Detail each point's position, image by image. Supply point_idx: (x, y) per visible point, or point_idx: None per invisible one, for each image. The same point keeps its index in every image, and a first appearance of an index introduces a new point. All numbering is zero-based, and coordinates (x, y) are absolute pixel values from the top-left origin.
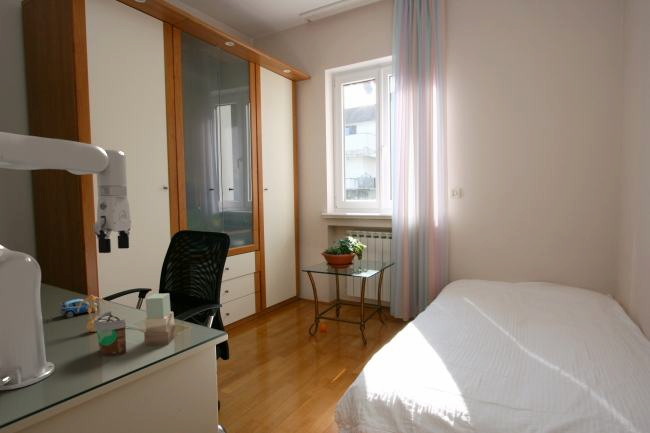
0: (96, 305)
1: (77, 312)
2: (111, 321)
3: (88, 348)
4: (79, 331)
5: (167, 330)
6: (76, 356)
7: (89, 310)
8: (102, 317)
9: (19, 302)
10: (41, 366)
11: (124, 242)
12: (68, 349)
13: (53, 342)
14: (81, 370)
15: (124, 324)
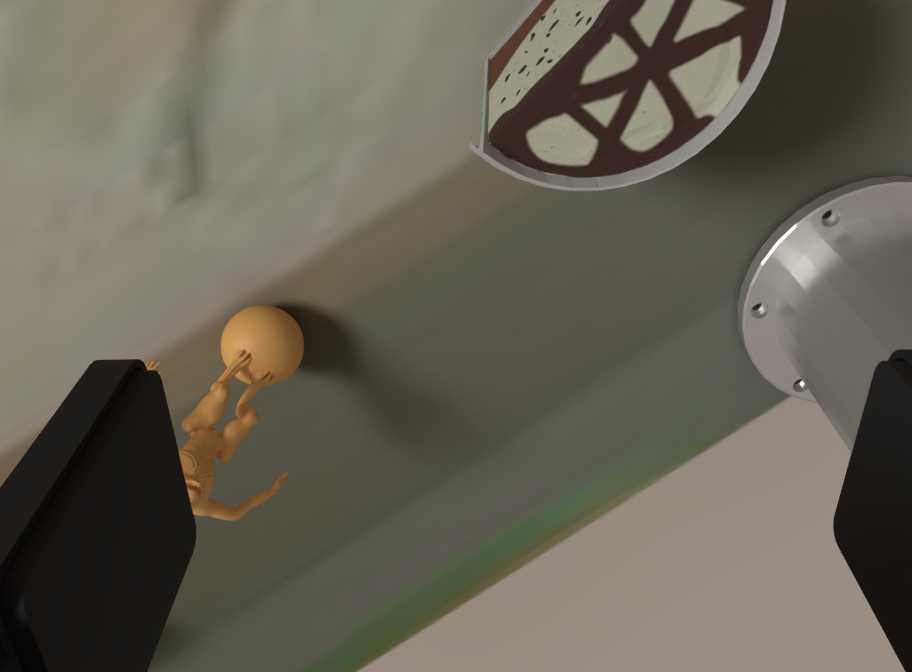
0: (190, 421)
1: None
2: (689, 17)
3: (535, 196)
4: (274, 408)
5: None
6: (645, 194)
7: (245, 427)
8: (564, 165)
9: None
10: (908, 228)
11: (124, 511)
12: (538, 301)
13: (434, 437)
14: (856, 36)
15: None
